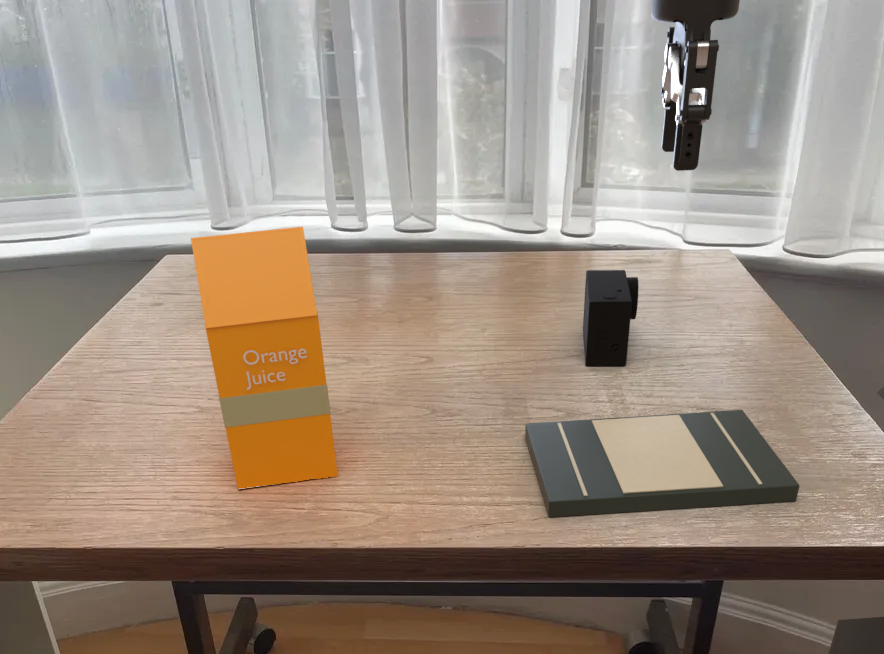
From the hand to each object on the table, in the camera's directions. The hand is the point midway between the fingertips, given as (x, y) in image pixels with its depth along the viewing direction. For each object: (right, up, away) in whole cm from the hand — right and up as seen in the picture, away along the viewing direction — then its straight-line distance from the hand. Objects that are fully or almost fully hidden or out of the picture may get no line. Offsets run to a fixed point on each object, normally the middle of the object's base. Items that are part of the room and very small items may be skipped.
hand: (678, 159), depth 87 cm
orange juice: (-37, -30, -6) cm, 48 cm away
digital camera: (-4, -15, +13) cm, 20 cm away
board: (-5, -31, -9) cm, 33 cm away
